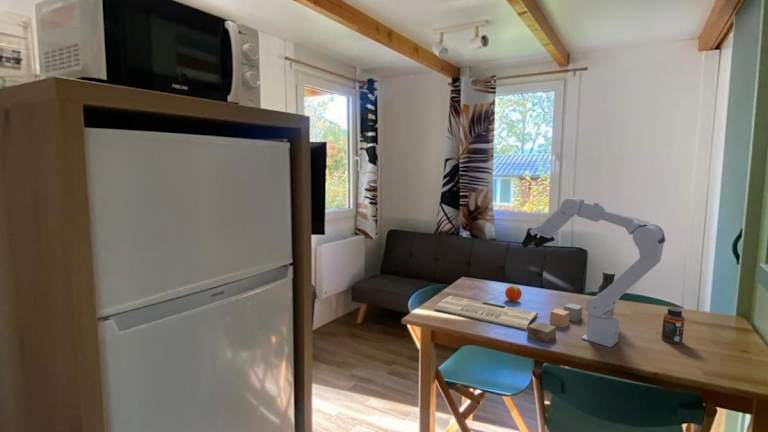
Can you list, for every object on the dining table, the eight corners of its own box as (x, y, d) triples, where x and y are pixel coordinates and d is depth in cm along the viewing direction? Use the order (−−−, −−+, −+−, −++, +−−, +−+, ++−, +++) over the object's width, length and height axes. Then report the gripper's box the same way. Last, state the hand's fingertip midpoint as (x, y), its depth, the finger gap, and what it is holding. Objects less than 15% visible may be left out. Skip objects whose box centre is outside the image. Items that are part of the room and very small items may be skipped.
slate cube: (581, 318, 164) (582, 306, 163) (576, 321, 161) (577, 309, 160) (568, 315, 168) (569, 303, 167) (563, 318, 164) (564, 306, 164)
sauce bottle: (591, 322, 160) (595, 272, 157) (596, 318, 164) (600, 269, 162) (610, 327, 155) (615, 275, 153) (615, 322, 160) (619, 272, 157)
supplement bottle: (682, 345, 140) (686, 313, 139) (661, 341, 143) (664, 309, 142) (681, 339, 145) (684, 308, 144) (661, 335, 148) (664, 305, 147)
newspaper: (537, 317, 166) (538, 310, 166) (525, 333, 150) (525, 326, 150) (451, 300, 186) (452, 293, 185) (432, 312, 170) (432, 306, 169)
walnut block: (555, 337, 145) (556, 326, 145) (546, 343, 140) (547, 332, 140) (536, 331, 150) (537, 321, 150) (527, 337, 145) (527, 326, 145)
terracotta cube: (568, 324, 158) (569, 311, 157) (563, 328, 154) (564, 315, 154) (555, 320, 161) (556, 308, 161) (549, 324, 158) (550, 311, 157)
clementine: (524, 304, 179) (525, 288, 178) (508, 304, 179) (508, 288, 178) (518, 298, 187) (519, 283, 186) (502, 298, 187) (503, 282, 186)
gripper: (559, 215, 159) (534, 238, 167) (536, 213, 151) (511, 237, 159) (570, 230, 155) (544, 252, 163) (547, 228, 147) (521, 252, 155)
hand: (529, 245), depth 161 cm, fingers open, 7 cm apart
